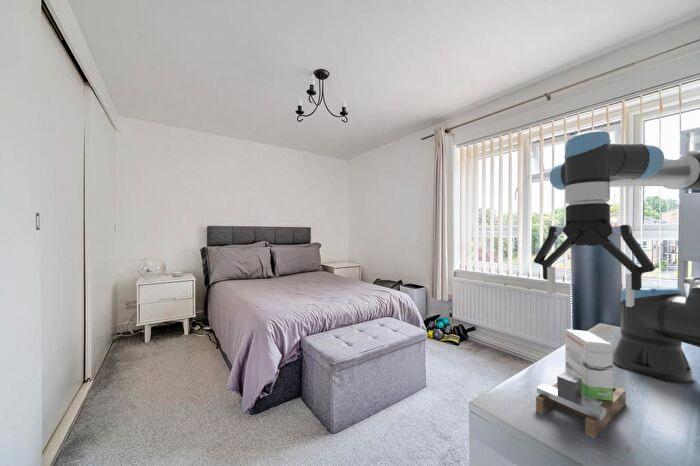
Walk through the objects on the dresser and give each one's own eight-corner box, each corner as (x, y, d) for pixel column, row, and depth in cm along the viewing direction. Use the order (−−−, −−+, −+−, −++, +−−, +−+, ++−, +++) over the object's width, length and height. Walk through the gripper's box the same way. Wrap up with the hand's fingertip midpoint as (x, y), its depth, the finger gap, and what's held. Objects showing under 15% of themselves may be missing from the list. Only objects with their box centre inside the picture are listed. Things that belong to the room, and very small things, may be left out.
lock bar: (543, 388, 61) (543, 365, 61) (605, 414, 52) (605, 387, 52) (537, 392, 59) (537, 368, 59) (600, 420, 50) (600, 392, 50)
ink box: (614, 402, 56) (614, 344, 56) (586, 398, 57) (586, 342, 57) (588, 380, 64) (588, 329, 64) (563, 377, 66) (564, 328, 66)
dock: (573, 384, 68) (573, 371, 68) (625, 403, 60) (625, 390, 60) (536, 411, 58) (536, 396, 58) (593, 439, 50) (593, 422, 50)
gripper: (675, 199, 53) (675, 309, 53) (531, 208, 74) (532, 288, 74) (669, 196, 49) (669, 315, 49) (518, 207, 70) (519, 291, 70)
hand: (587, 299), depth 61 cm, fingers open, 13 cm apart
